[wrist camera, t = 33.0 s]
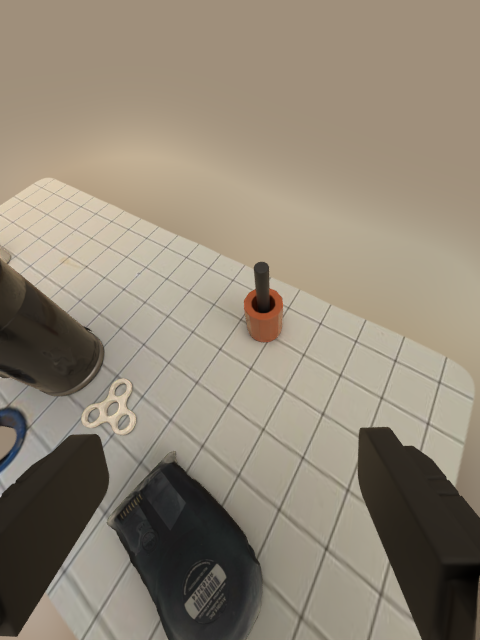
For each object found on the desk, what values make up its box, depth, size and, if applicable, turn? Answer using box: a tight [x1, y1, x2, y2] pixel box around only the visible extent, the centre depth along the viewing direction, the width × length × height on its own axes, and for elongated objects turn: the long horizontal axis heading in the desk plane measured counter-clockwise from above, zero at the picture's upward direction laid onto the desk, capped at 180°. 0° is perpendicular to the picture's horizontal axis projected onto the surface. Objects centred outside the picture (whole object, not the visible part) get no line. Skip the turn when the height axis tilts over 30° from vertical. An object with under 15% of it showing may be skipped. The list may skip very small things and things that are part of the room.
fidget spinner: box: [81, 379, 136, 435], centre depth 35 cm, size 7×6×1 cm
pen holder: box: [244, 288, 283, 342], centre depth 36 cm, size 5×5×6 cm
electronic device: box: [106, 451, 262, 640], centre depth 25 cm, size 9×6×15 cm
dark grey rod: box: [254, 262, 270, 313], centre depth 33 cm, size 2×2×12 cm
